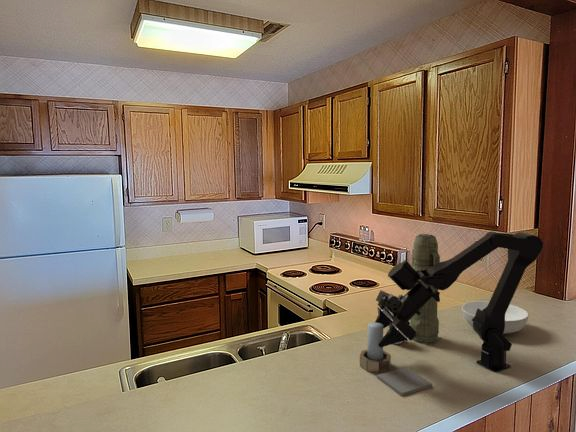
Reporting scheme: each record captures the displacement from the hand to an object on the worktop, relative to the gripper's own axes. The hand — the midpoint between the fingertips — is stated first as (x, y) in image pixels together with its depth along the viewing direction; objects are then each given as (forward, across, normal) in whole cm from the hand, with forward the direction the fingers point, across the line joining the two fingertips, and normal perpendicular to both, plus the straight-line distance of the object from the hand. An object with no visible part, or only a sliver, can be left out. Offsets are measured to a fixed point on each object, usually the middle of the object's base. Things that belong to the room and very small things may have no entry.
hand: (374, 339), depth 113 cm
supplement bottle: (-2, -16, +13) cm, 21 cm away
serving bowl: (-29, -24, +40) cm, 55 cm away
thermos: (-10, -17, +21) cm, 28 cm away
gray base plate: (+2, +10, +9) cm, 14 cm away
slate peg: (+5, 0, +6) cm, 8 cm away
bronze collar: (+5, 0, +6) cm, 8 cm away
